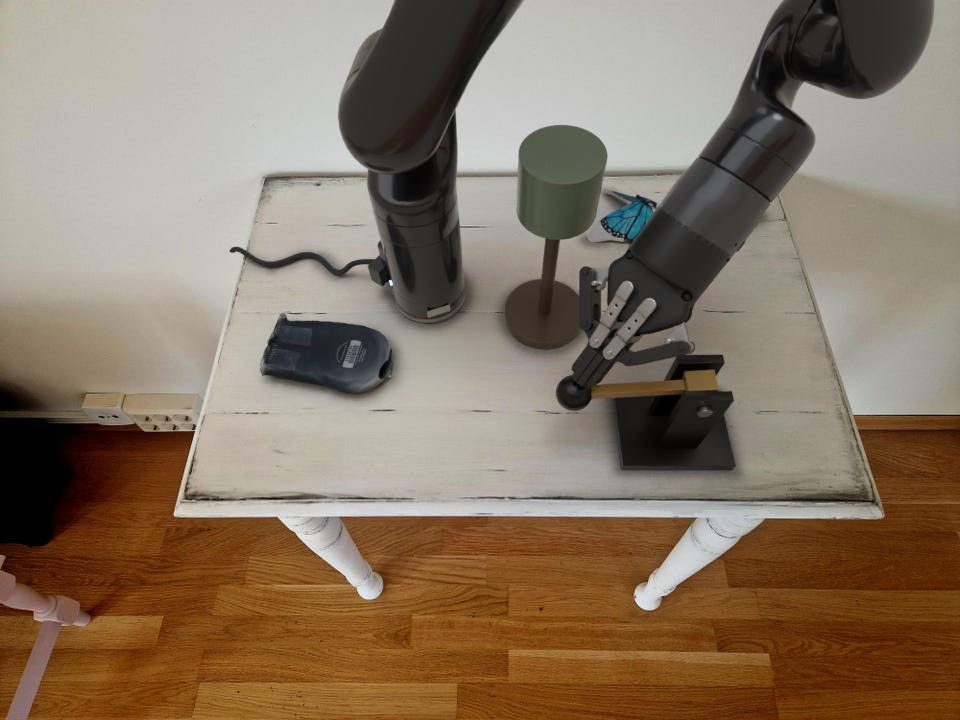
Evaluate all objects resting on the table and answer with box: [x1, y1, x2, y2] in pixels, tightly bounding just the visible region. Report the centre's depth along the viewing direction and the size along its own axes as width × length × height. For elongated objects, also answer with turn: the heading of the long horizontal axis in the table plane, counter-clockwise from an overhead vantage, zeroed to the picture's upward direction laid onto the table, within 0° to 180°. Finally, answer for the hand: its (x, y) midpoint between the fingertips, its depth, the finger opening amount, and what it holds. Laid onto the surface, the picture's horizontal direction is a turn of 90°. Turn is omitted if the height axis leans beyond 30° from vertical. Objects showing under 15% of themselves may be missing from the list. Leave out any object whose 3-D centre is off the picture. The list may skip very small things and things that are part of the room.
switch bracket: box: [612, 354, 737, 471], centre depth 59 cm, size 12×9×13 cm
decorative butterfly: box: [586, 179, 660, 244], centre depth 79 cm, size 10×6×10 cm
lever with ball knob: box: [555, 370, 720, 412], centre depth 56 cm, size 15×4×4 cm, turn 89°
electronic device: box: [259, 312, 394, 395], centre depth 69 cm, size 9×6×15 cm
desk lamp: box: [504, 124, 609, 351], centre depth 62 cm, size 10×10×26 cm
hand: (580, 382), depth 55 cm, fingers closed
